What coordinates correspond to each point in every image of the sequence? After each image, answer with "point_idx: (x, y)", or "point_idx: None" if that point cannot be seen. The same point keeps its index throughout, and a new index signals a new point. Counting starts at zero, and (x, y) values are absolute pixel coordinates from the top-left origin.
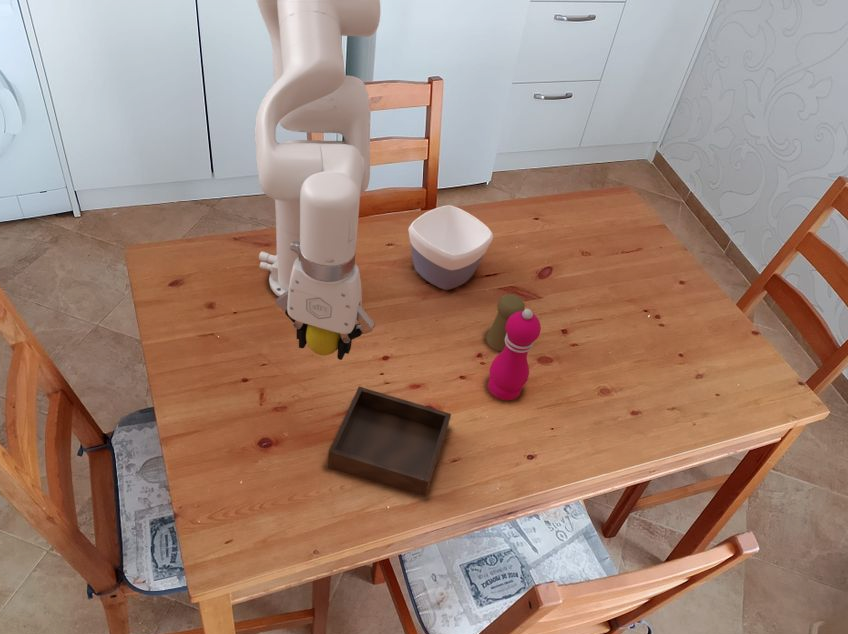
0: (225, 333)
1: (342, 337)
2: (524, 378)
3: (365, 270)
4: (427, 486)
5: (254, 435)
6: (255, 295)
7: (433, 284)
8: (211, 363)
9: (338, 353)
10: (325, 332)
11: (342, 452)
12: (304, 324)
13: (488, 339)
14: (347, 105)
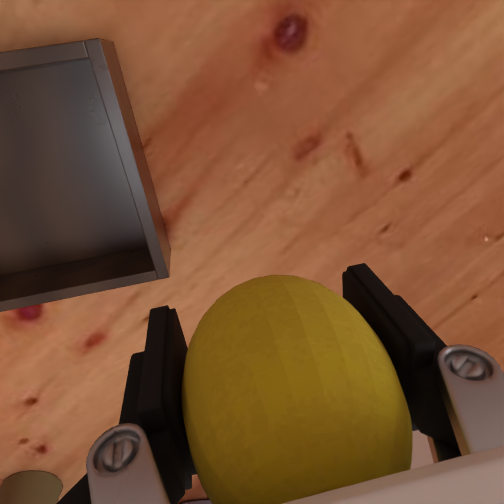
0: (476, 251)
1: (141, 461)
2: None
3: None
4: None
5: (325, 42)
6: (453, 342)
7: (203, 501)
8: (480, 177)
9: (167, 332)
10: (269, 440)
11: (61, 57)
12: (427, 395)
13: (47, 481)
14: None
